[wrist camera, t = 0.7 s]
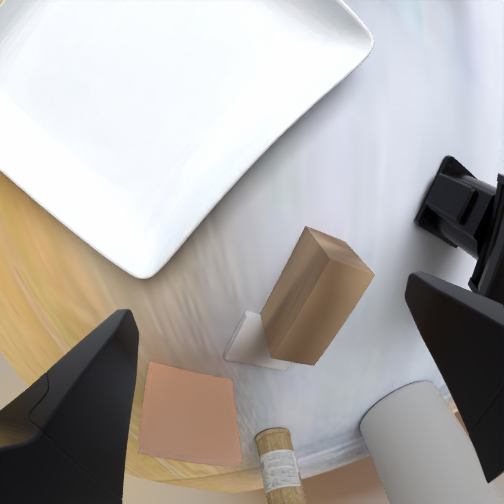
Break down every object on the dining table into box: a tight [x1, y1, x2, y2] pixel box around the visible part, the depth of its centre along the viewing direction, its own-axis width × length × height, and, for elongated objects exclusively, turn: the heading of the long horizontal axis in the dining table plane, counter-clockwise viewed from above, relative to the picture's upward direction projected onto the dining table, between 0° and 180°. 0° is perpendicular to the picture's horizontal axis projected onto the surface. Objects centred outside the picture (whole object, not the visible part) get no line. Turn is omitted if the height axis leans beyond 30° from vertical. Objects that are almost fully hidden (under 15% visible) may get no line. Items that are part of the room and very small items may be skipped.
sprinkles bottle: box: [255, 428, 307, 504], centre depth 28 cm, size 5×5×13 cm
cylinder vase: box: [360, 381, 504, 504], centre depth 25 cm, size 12×12×25 cm
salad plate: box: [0, 0, 374, 279], centre depth 13 cm, size 21×21×3 cm
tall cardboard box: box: [224, 226, 375, 371], centre depth 22 cm, size 6×13×5 cm, turn 157°
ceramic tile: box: [137, 362, 243, 467], centre depth 23 cm, size 8×2×9 cm, turn 67°
